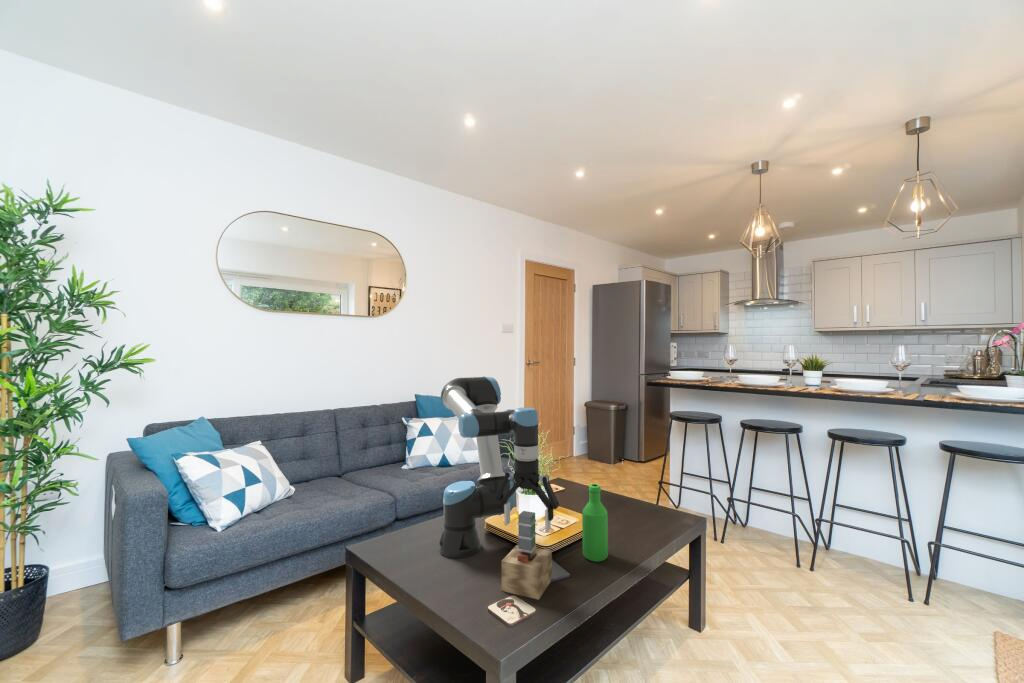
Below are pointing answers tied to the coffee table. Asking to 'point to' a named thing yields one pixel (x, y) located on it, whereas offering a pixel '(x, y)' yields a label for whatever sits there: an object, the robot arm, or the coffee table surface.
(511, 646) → the coffee table surface
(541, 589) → the housing
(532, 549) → the column
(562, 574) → the smartphone
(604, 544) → the bottle
